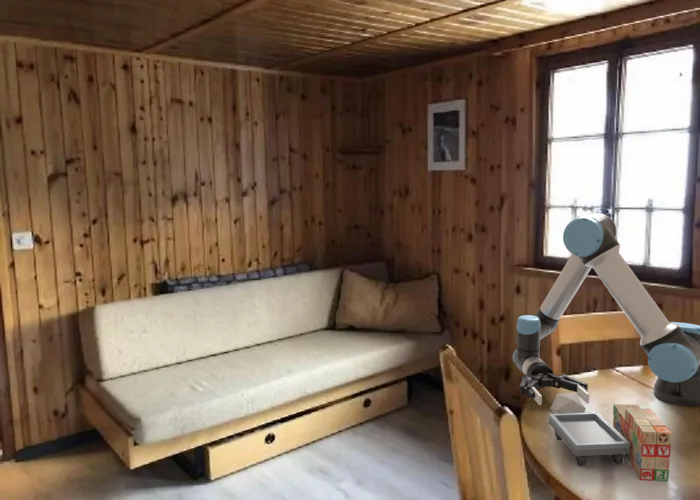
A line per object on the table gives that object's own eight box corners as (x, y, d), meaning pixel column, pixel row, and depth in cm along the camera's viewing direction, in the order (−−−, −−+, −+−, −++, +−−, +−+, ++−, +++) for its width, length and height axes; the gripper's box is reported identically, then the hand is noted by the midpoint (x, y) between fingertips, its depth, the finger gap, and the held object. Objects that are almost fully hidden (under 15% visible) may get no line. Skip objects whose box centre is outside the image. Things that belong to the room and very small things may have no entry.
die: (580, 433, 151) (595, 401, 153) (551, 417, 152) (566, 385, 154) (568, 430, 159) (582, 400, 161) (541, 414, 160) (555, 385, 162)
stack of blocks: (611, 436, 148) (613, 392, 146) (637, 437, 147) (639, 393, 145) (639, 480, 127) (642, 430, 126) (669, 482, 126) (672, 431, 125)
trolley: (596, 433, 150) (597, 412, 149) (629, 467, 133) (630, 443, 132) (548, 435, 149) (549, 413, 148) (575, 469, 132) (576, 445, 132)
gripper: (575, 382, 179) (607, 410, 158) (499, 384, 179) (520, 413, 158) (576, 359, 178) (608, 385, 157) (499, 362, 178) (520, 388, 157)
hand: (564, 399), depth 158 cm, fingers open, 13 cm apart
